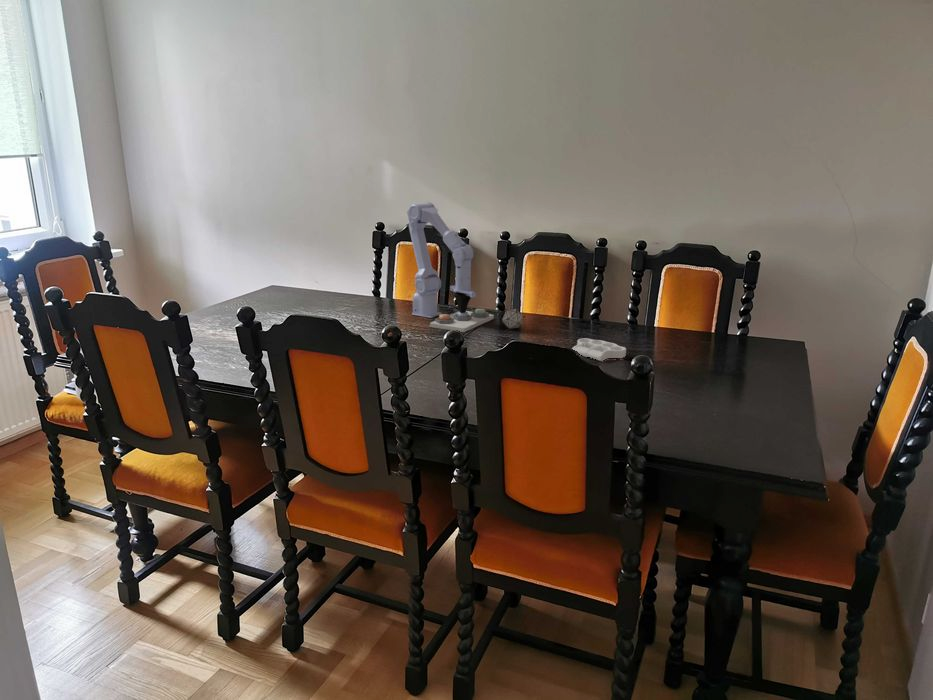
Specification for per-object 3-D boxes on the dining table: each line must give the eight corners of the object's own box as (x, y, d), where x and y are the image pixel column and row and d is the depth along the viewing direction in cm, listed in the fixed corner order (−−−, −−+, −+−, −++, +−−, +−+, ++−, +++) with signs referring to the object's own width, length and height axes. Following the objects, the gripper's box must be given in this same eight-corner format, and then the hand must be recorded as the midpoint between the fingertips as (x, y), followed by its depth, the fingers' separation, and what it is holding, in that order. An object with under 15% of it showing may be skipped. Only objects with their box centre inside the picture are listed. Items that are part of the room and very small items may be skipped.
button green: (473, 315, 273) (473, 310, 272) (477, 313, 276) (478, 308, 275) (482, 316, 271) (482, 311, 270) (486, 314, 274) (487, 309, 273)
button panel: (429, 326, 263) (429, 319, 262) (461, 313, 283) (461, 307, 282) (463, 332, 256) (463, 325, 255) (493, 318, 276) (493, 312, 275)
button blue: (455, 318, 268) (455, 312, 267) (460, 316, 271) (460, 310, 271) (464, 319, 266) (464, 314, 266) (469, 317, 270) (469, 312, 269)
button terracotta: (437, 321, 263) (437, 315, 263) (442, 319, 267) (442, 313, 266) (446, 322, 262) (446, 317, 261) (451, 320, 265) (451, 314, 264)
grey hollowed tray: (563, 353, 234) (588, 344, 244) (608, 365, 222) (633, 356, 232) (563, 343, 233) (589, 335, 243) (609, 355, 221) (634, 346, 231)
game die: (516, 339, 261) (526, 322, 254) (495, 331, 261) (504, 314, 253) (520, 323, 267) (529, 306, 260) (499, 315, 267) (508, 297, 259)
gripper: (443, 275, 268) (443, 309, 272) (465, 281, 256) (464, 317, 260) (459, 273, 272) (458, 307, 276) (480, 280, 260) (480, 315, 264)
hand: (462, 312), depth 268 cm, fingers closed
